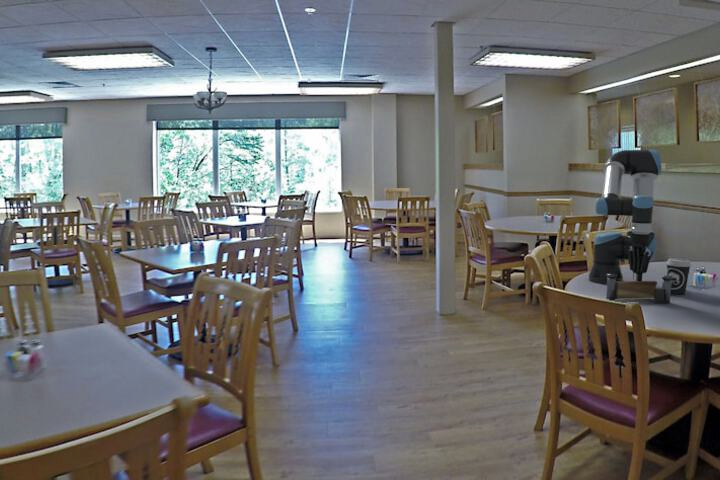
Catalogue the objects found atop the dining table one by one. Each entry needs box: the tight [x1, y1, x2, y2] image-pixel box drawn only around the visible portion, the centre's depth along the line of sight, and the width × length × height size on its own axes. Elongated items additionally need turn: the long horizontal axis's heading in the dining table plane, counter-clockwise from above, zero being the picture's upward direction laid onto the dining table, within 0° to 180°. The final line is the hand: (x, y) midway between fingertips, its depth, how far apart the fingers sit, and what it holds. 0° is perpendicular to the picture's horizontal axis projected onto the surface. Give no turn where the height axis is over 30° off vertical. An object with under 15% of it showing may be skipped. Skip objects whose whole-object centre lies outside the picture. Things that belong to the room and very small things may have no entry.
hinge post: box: [605, 273, 617, 301], centre depth 231 cm, size 4×4×11 cm
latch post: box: [653, 274, 673, 305], centre depth 226 cm, size 5×7×11 cm
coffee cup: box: [665, 257, 692, 297], centre depth 239 cm, size 10×10×15 cm
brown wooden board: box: [615, 280, 658, 300], centre depth 232 cm, size 2×17×7 cm, turn 91°
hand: (636, 288), depth 234 cm, fingers closed
